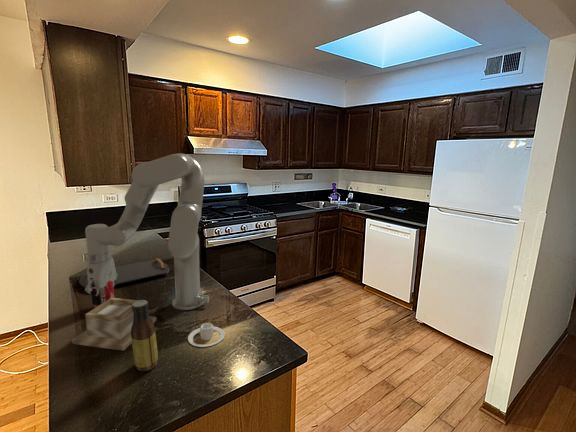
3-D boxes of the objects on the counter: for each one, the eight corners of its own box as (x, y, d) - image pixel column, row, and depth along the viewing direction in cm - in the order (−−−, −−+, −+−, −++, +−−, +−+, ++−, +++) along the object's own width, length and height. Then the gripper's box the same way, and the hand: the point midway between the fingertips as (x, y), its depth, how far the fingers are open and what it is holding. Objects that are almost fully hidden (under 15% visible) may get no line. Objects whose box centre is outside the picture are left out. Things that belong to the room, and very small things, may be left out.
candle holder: (195, 353, 97) (194, 340, 97) (182, 335, 107) (182, 323, 106) (230, 340, 104) (230, 328, 104) (216, 324, 114) (215, 313, 113)
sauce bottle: (151, 355, 95) (147, 294, 91) (162, 364, 91) (158, 301, 87) (129, 366, 90) (124, 302, 86) (140, 376, 86) (134, 310, 82)
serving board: (84, 297, 133) (82, 283, 131) (76, 279, 150) (75, 267, 149) (175, 275, 157) (174, 264, 156) (159, 263, 175) (158, 252, 173)
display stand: (156, 320, 115) (154, 297, 113) (123, 350, 97) (121, 324, 96) (112, 315, 118) (110, 293, 116) (72, 343, 100) (69, 318, 98)
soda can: (92, 312, 119) (88, 283, 117) (97, 303, 126) (94, 275, 124) (112, 310, 121) (109, 281, 119) (117, 302, 128) (114, 274, 125)
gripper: (91, 265, 110) (95, 311, 114) (123, 250, 127) (127, 291, 131) (72, 263, 111) (77, 309, 115) (107, 249, 128) (111, 289, 132)
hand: (104, 299), depth 123 cm, fingers closed on soda can, 6 cm apart
